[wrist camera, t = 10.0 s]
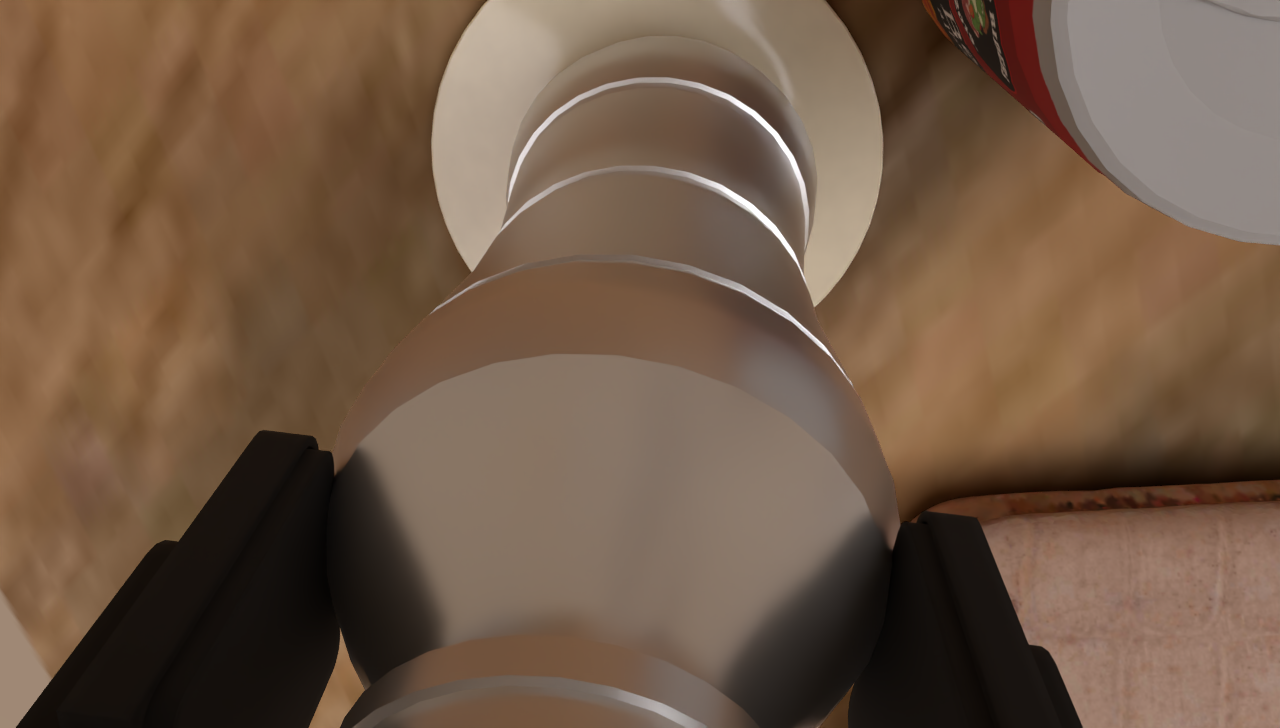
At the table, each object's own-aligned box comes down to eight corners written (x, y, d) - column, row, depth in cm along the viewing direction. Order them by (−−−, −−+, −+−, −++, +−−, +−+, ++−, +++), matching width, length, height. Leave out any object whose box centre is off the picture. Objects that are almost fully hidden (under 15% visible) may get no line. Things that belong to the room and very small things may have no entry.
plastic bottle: (532, 1, 23) (-80, 618, 6) (831, 27, 23) (1147, 753, 5) (527, 263, 26) (123, 1178, 9) (791, 289, 26) (909, 1279, 9)
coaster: (439, -106, 23) (434, -104, 22) (929, -43, 23) (933, -41, 22) (431, 335, 28) (427, 343, 27) (831, 384, 28) (833, 392, 28)
